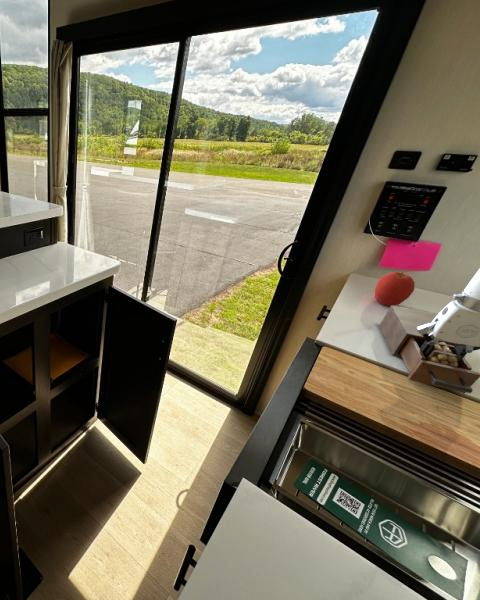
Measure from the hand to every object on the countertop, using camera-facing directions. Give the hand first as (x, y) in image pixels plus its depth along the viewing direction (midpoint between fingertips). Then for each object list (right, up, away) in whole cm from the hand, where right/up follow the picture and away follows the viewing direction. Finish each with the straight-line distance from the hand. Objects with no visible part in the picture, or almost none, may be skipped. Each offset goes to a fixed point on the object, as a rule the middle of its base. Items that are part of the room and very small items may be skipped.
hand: (438, 356), depth 88 cm
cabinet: (+6, +1, +14) cm, 15 cm away
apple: (+17, +14, +33) cm, 40 cm away
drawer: (0, -5, +2) cm, 6 cm away
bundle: (0, 0, 0) cm, 1 cm away
